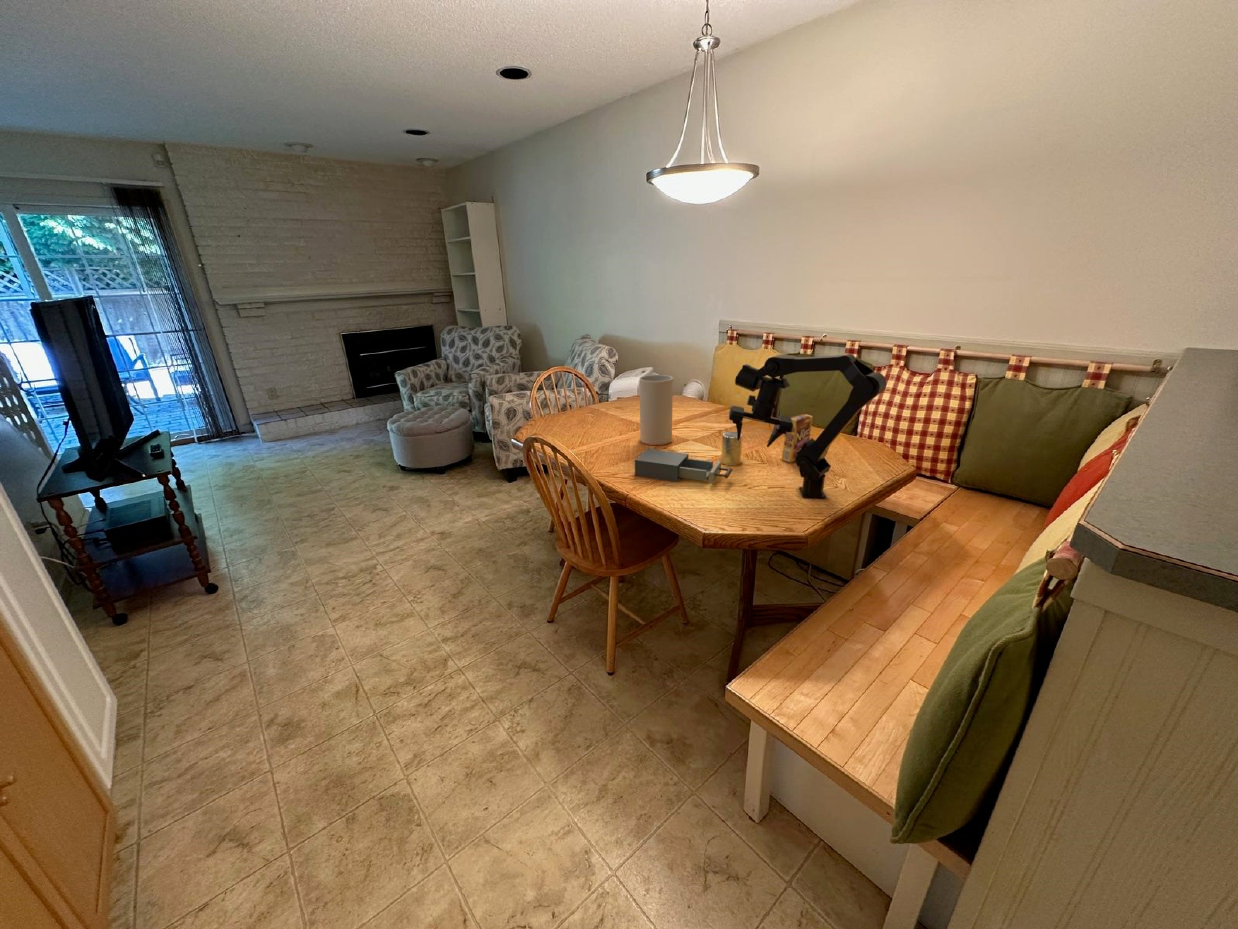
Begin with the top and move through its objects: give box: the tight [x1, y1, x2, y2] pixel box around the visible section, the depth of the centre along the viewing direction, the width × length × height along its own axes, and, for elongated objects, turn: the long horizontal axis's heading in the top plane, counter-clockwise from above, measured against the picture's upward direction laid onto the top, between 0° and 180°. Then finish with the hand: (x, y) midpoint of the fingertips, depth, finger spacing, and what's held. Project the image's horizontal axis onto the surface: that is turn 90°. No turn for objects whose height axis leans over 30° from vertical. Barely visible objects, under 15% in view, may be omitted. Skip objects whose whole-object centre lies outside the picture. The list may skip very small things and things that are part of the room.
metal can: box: [720, 431, 743, 466], centre depth 164 cm, size 7×7×10 cm
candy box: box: [781, 413, 814, 464], centre depth 164 cm, size 9×4×15 cm, turn 123°
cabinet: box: [634, 448, 690, 483], centre depth 158 cm, size 15×12×6 cm
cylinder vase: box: [639, 374, 674, 446], centre depth 185 cm, size 12×12×25 cm
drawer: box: [678, 457, 733, 485], centre depth 152 cm, size 18×10×4 cm, turn 65°
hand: (752, 443), depth 148 cm, fingers open, 9 cm apart
